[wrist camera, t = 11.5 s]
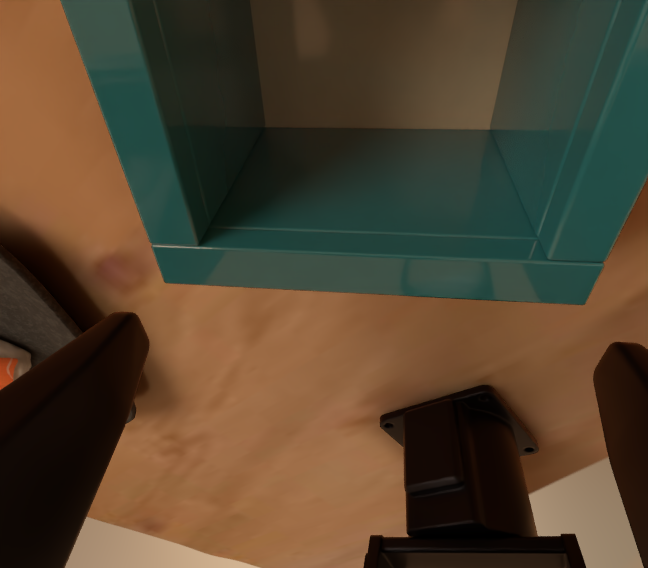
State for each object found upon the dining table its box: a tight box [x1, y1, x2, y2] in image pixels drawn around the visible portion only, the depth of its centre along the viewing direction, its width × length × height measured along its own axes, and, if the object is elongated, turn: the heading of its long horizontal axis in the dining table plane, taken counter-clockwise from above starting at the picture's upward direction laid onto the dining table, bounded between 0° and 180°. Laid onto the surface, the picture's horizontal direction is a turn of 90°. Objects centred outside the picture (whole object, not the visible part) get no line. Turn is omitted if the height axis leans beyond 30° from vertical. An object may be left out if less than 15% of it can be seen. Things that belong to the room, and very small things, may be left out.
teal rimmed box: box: [60, 0, 648, 305], centre depth 8 cm, size 8×7×7 cm
